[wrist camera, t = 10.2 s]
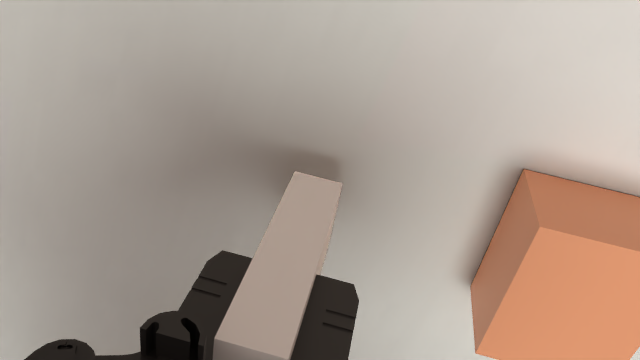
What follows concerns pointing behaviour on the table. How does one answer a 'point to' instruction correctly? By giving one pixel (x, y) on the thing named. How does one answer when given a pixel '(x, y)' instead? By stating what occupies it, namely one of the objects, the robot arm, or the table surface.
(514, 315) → the terracotta clay cube
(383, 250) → the table surface
